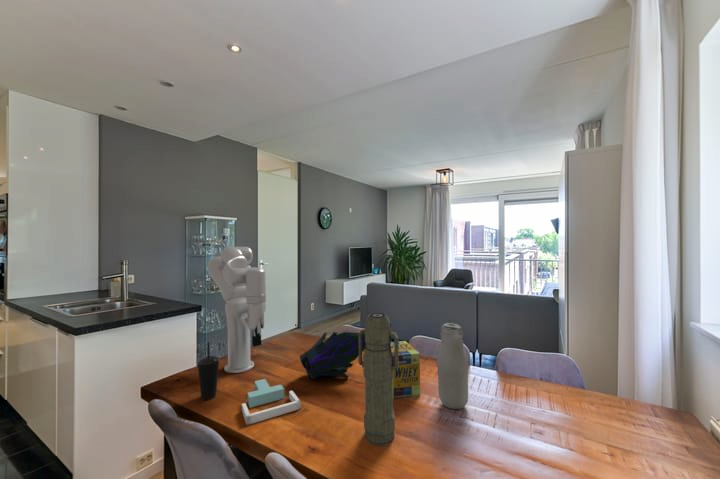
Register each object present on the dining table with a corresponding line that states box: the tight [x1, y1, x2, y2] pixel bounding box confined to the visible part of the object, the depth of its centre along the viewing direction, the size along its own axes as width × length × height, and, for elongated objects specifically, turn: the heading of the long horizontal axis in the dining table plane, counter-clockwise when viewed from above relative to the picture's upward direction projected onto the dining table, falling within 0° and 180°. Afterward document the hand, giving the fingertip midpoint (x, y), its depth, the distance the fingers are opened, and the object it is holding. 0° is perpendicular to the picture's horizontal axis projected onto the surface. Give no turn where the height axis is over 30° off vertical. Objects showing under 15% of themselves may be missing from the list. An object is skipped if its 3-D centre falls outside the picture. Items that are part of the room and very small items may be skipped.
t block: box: [247, 378, 285, 409], centre depth 113 cm, size 12×12×4 cm
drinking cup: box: [196, 341, 221, 401], centre depth 112 cm, size 8×8×20 cm
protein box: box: [391, 340, 421, 400], centre depth 117 cm, size 10×15×16 cm
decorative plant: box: [299, 331, 366, 380], centre depth 129 cm, size 21×26×30 cm
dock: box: [241, 390, 302, 426], centre depth 103 cm, size 9×17×2 cm, turn 120°
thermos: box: [358, 312, 400, 447], centre depth 88 cm, size 9×12×35 cm
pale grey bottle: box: [436, 322, 469, 410], centre depth 103 cm, size 10×10×28 cm
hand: (256, 345), depth 122 cm, fingers closed
